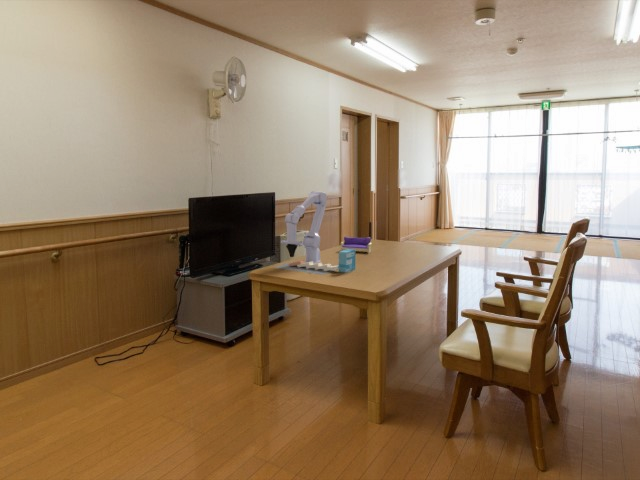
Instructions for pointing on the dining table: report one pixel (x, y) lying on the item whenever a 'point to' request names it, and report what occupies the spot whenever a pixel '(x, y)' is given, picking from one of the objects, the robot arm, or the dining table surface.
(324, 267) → the tile
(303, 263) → the beige rectangular block
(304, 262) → the tile
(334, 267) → the tile
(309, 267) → the tile
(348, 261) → the data package
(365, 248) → the toy sofa
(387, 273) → the dining table surface
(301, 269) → the mat
